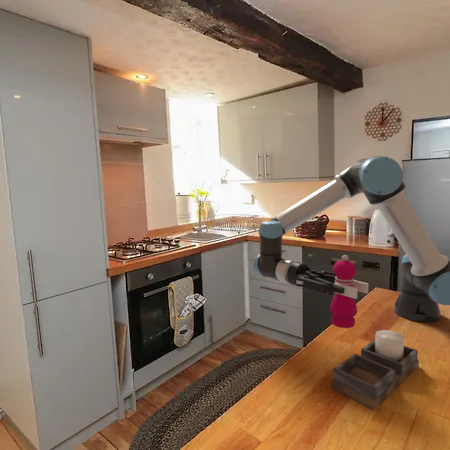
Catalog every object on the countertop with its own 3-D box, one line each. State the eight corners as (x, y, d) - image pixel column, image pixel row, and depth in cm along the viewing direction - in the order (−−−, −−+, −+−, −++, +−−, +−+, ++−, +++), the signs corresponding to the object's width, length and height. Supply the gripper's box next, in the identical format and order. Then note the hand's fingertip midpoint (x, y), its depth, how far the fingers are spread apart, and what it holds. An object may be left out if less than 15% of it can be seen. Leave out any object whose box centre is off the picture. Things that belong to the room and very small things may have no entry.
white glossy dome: (385, 350, 96) (386, 327, 95) (408, 361, 90) (409, 337, 89) (369, 357, 93) (370, 334, 92) (392, 369, 87) (393, 344, 86)
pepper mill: (358, 330, 90) (361, 258, 87) (330, 328, 91) (332, 257, 89) (354, 319, 97) (356, 252, 94) (328, 317, 98) (330, 251, 96)
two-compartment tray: (378, 351, 100) (379, 335, 99) (418, 366, 91) (419, 349, 91) (330, 387, 83) (331, 369, 82) (373, 410, 75) (374, 390, 74)
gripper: (310, 278, 112) (377, 296, 95) (274, 290, 101) (343, 313, 83) (310, 256, 111) (379, 270, 94) (274, 266, 100) (344, 284, 82)
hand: (362, 290), depth 88 cm, fingers closed on pepper mill, 5 cm apart
